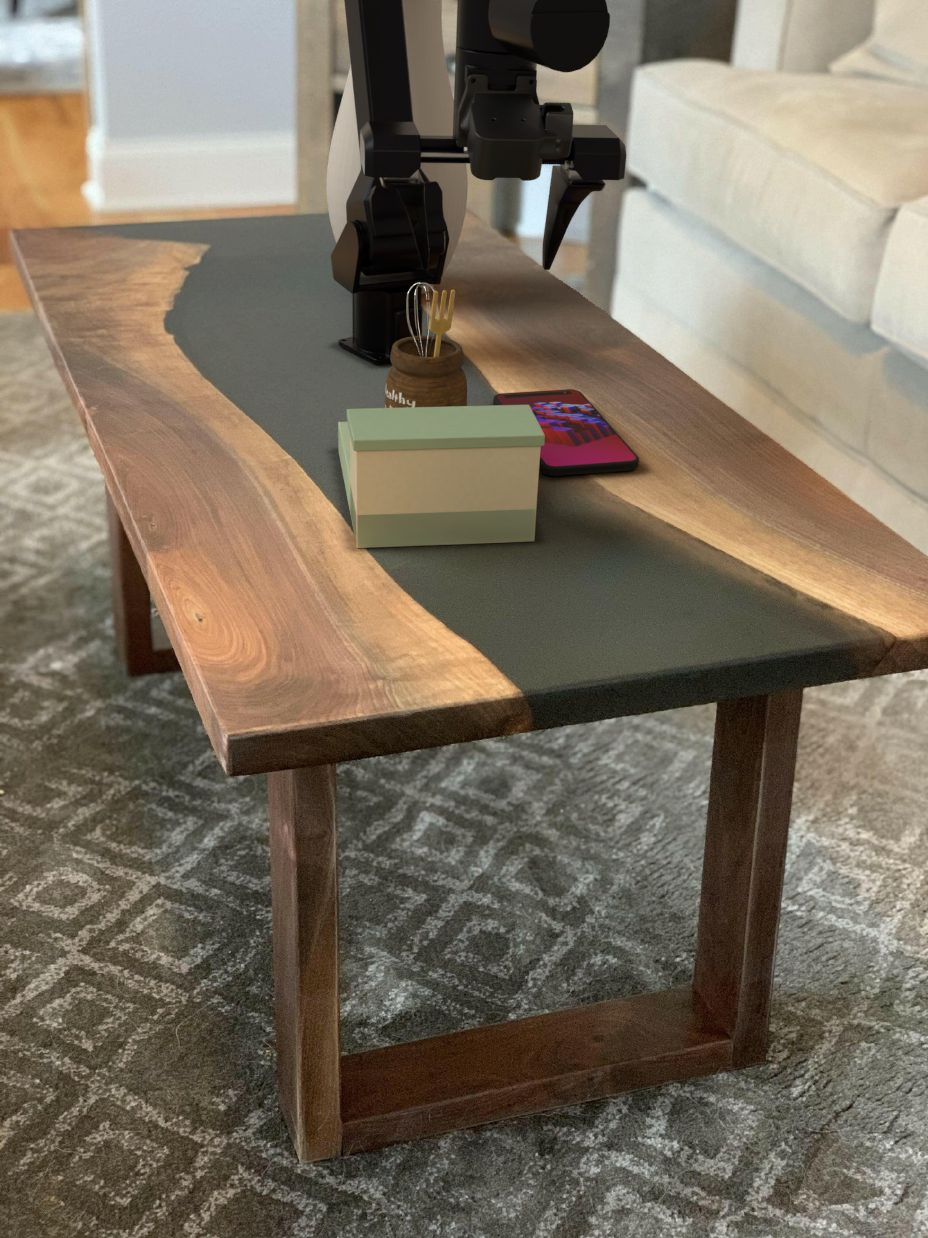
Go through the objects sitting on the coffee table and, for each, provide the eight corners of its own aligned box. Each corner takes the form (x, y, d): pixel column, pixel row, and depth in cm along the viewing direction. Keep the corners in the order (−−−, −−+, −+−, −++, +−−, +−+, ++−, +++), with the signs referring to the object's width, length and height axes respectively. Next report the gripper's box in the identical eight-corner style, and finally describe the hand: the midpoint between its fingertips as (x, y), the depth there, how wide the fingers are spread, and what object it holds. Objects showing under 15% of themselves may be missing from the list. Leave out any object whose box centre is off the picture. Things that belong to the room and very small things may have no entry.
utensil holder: (449, 419, 107) (454, 262, 101) (478, 451, 101) (486, 287, 95) (374, 427, 105) (375, 267, 99) (400, 460, 100) (403, 293, 94)
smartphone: (545, 468, 103) (490, 393, 116) (544, 479, 104) (489, 403, 116) (644, 460, 105) (579, 387, 117) (642, 471, 105) (578, 397, 118)
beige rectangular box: (335, 452, 107) (334, 353, 103) (496, 447, 108) (501, 350, 105) (353, 549, 93) (353, 440, 89) (537, 542, 95) (545, 434, 91)
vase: (312, 305, 138) (305, -31, 123) (347, 267, 149) (345, -44, 134) (449, 318, 136) (460, -22, 121) (474, 278, 147) (487, -36, 132)
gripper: (371, 64, 90) (369, 302, 98) (655, 70, 92) (631, 302, 100) (359, 36, 99) (359, 256, 107) (617, 43, 102) (598, 257, 110)
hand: (485, 268), depth 106 cm, fingers open, 9 cm apart
